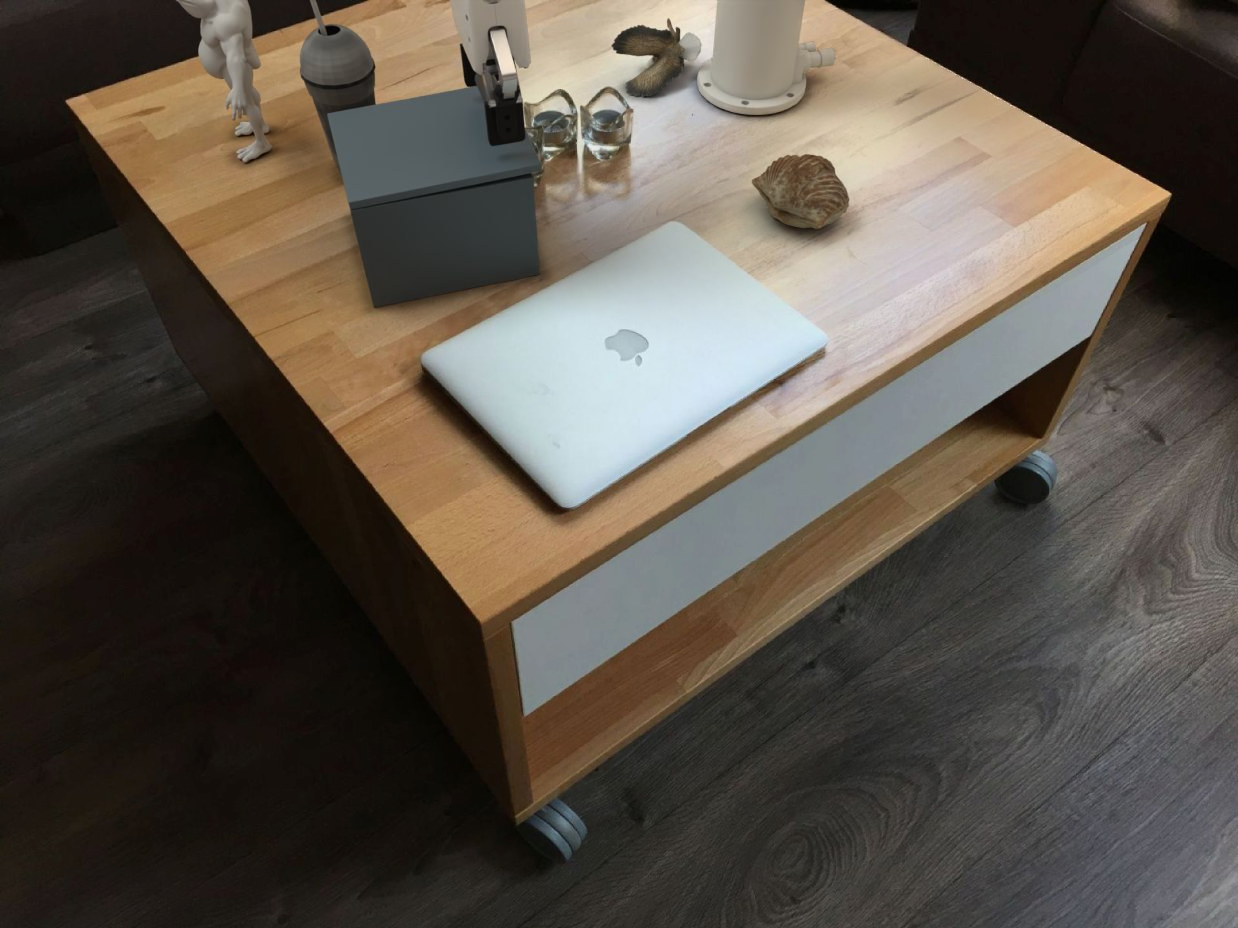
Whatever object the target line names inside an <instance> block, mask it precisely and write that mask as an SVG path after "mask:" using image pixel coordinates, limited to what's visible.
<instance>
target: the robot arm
mask: <svg viewBox="0 0 1238 928" xmlns="http://www.w3.org/2000/svg"><path fill="white" fill-rule="evenodd" d="M449 3H450V8H451V13H452V18H453V23H454V27H455V29H456V32H457V36H458V37H459V40H460V42H461V43H459V47H460V48H459V49H460V59H461V66H462V72H463V81H464V83H465V84H464V85H465V86H466V88H468V87H473V86H477V84H476V82H475V75H476V73H478V74H480V75H482V77H483V81H484V86H485V91H486V96H487V101H486V102H484V107H485V116H486V126H487V135H488V141H489V144H490V145H491V146H498V145H503V144H509V143H515V142H521V141H523V140H524V139H525V129H526V127H525V125H526V124H525V113H524V111H525V110H524V98H523V96H522V89H521V86H520V85H521V84H520V80H519V76H518V70H517V67H518V69H522V68H523V69H524V70H525V69H529V67H530V66H531V64H532V55H531V46H530V45H531V44H530V37H529V36H530V35H529V28H528V27H529V26H528V18H527V17H528V16H527V9H526V1H525V0H449ZM805 5H806V0H716V9H715V10H716V11H715V12H716V13H715V21H714V23H715V24H714V33H713V34H714V36H713V46H712V47H713V48H712V57H710V58H708V59H707V60H706V61H704V62H703V63H702V65H701V66H700V68H699V69H698V72H697V78H696V79H697V80H696V84H697V89H698V91H699V93H700V94H701V96H703V98H704V99H705V100H706V101H708V102H709V103H711V104H712V105H713V106H715V107H718V108H720V109H721V110H725V111H728V112H731V113H735V114H740V115H749V116H763V115H771V114H776V113H781V112H783V111H785V110H789V109H790V108H792V107H794V106H795V105H797V104H798V103H799V102H800V101H801V100H802V99H803V97H804V96H805V92H806V87H807V77H806V75H805V74H807V73H809V72H810V71H811V69H816V68H817V69H819V68H825V67H830V66H834V65H835V63H836V51H835V50H834V48H832V47H828V48H822V49H817V46H816V43H815V41H814V40H813V41H807V42H802V43H800V38H801V31H802V24H803V17H804V12H805ZM516 65H517V66H516ZM491 75H495V78H496V80H497V82H499V83H500V84H498V85H496V86H495V89H493V85H492V80H491Z"/></svg>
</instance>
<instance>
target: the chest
mask: <svg viewBox="0 0 1238 928" xmlns="http://www.w3.org/2000/svg"><path fill="white" fill-rule="evenodd" d="M534 181H535V180H534V176H533V173H529V174H524V175H519V176H515V177H510V178H505V179H500V180H495V181H490V182H485V183H480V184H475V185H470V186H465V187H460V188H455V189H450V190H445V191H440V192H435V193H431V194H426V195H421V196H416V197H411V198H406V199H401V200H396V201H391V202H386V203H381V204H376V205H371V206H366V207H361V208H356V209H350V208H349V211H350V214H351V219H352V224H353V227H354V231H355V235H356V240H357V244H358V248H359V252H360V256H361V261H362V264H363V269H364V273H365V277H366V281H367V286H368V290H369V293H370V298H371V302H372V306H373V307H372V308H378V307H383V306H389V305H394V304H398V303H404V302H408V301H413V300H419V299H424V298H429V297H434V296H438V295H443V294H447V293H453V292H459V291H463V290H469V289H474V288H479V287H484V286H489V285H494V284H499V283H503V282H508V281H514V280H518V279H519V280H520V279H524V278H528V277H533V276H539V275H541V268H540V255H539V253H540V252H539V239H538V226H537V210H536V196H535V183H534Z"/></svg>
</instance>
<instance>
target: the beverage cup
mask: <svg viewBox="0 0 1238 928" xmlns="http://www.w3.org/2000/svg"><path fill="white" fill-rule="evenodd" d="M309 2H310V4H311V7H312V10H313V14H314V17H315V19H316V22H317V26H318V27H316V28H315V29H313V30H312V31H311V32H310V33H309V34H307V36H306V37H305V38H304V41H303V43H302V45H301V48H300V50H299V51H300V52H299V65H300V67H299V75H300V78H301V80H302V81H303V82H304V86H305V87H306V90H307V92H308V94H309V96H310V97H311V99H312V102H313V104H314V107H315V110H316V113H317V116H318V119H319V121H320V124H321V127H322V130H323V133H324V136H325V139H326V142H327V144H328V148H329V150H330V153H331V156H332V159H333V162H334V163H335V166H336V169H337V170H338V174H339V176H340V178H342V174H341V170H340V166H339V162H338V157H337V153H336V149H335V145H334V141H333V137H332V132H331V128H330V124H329V120H328V116H327V114H328V113H333V112H338V111H344V110H349V109H354V108H360V107H365V106H371V105H376V104H377V101H376V93H375V87H376V72H375V71H376V68H377V67H376V62H375V60H374V58H373V57H372V54H371V50H370V47H369V45H367V43H366V42H365V40H363V38H362V37H361V36H360V35H359V34H358V32H357V33H356V31H354V30H353V29H351V28H349V27H347V26H345V25H342V24H336V23H329V24H325V23H324V21H323V18H322V15H321V12H320V9H319V6H318V3H317V1H316V0H309Z"/></svg>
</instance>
